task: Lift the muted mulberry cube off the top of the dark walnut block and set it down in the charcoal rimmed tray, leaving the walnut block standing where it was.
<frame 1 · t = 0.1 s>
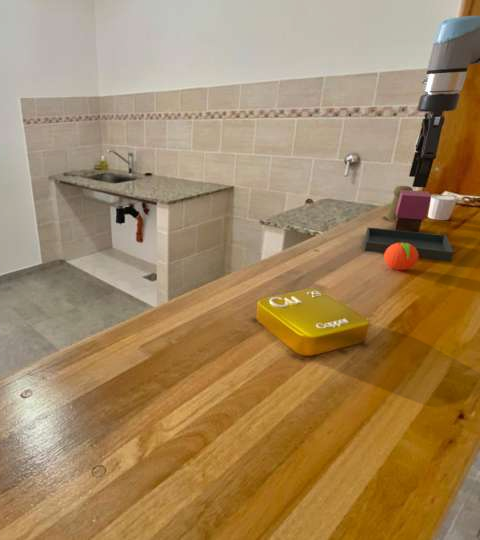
hand: (416, 181, 101), 19 cm above the table, tool pointing down, fingers open, 13 cm apart
walnut block: (405, 230, 121), on the table, touching mulberry cube
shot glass: (438, 218, 130), on the table
tray: (404, 247, 109), on the table
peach: (397, 270, 96), on the table
element tile: (307, 329, 75), on the table
mulberry cube: (409, 215, 119), point 5 cm above the table, touching walnut block
cork: (396, 218, 132), on the table
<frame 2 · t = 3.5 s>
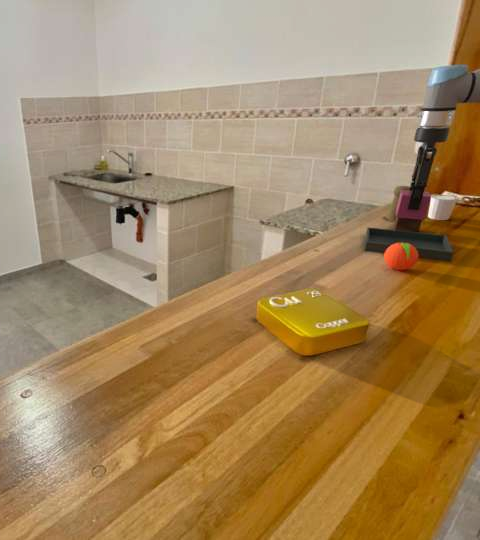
hand: (412, 205, 117), 8 cm above the table, tool pointing down, fingers closed on mulberry cube, 7 cm apart
mulberry cube: (409, 215, 119), point 5 cm above the table, touching gripper, walnut block
everything else where it was.
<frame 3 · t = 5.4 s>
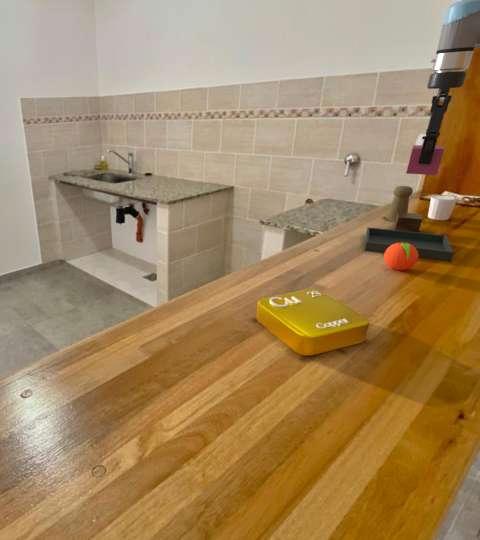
hand: (424, 161, 109), 22 cm above the table, tool pointing down, fingers closed on mulberry cube, 7 cm apart
walnut block: (405, 230, 121), on the table
mulberry cube: (421, 172, 110), point 19 cm above the table, touching gripper
everything else where it was.
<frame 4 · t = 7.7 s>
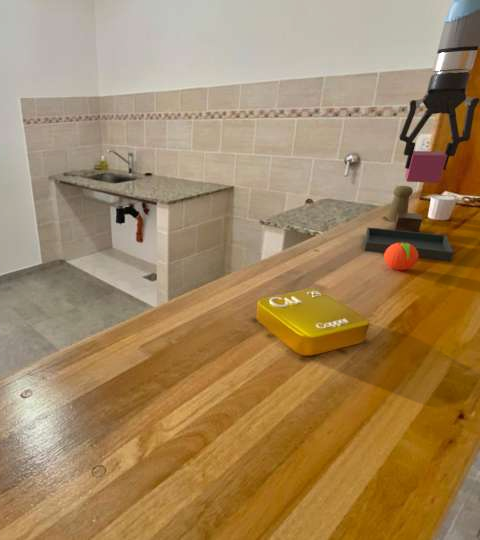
hand: (424, 168, 102), 22 cm above the table, tool pointing down, fingers closed on mulberry cube, 7 cm apart
mulberry cube: (421, 179, 103), point 19 cm above the table, touching gripper
everything else where it was.
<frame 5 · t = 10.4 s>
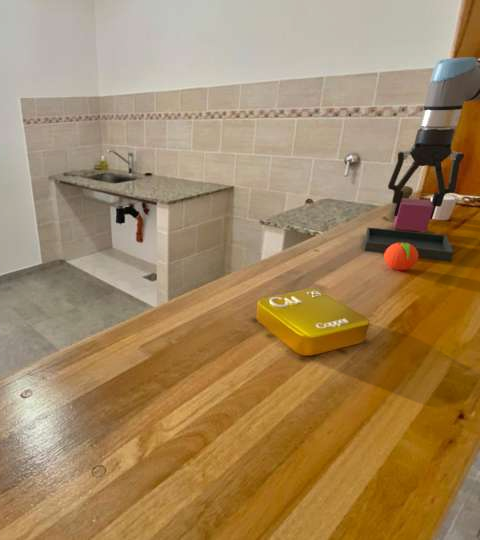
hand: (412, 216, 105), 9 cm above the table, tool pointing down, fingers closed on mulberry cube, 7 cm apart
mulberry cube: (409, 226, 106), point 6 cm above the table, touching gripper
everything else where it was.
when the fingers open (4 cm above the table, at t = 12.2 s): mulberry cube stays where it is, resting on tray.
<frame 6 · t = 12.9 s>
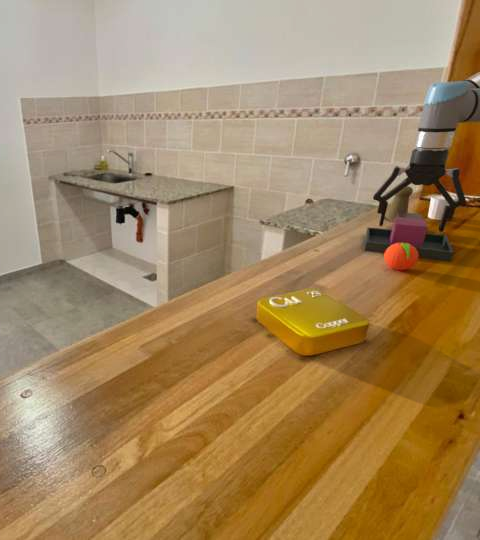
hand: (409, 227, 106), 6 cm above the table, tool pointing down, fingers open, 13 cm apart
mulberry cube: (404, 245, 109), point 1 cm above the table, touching tray
everything else where it was.
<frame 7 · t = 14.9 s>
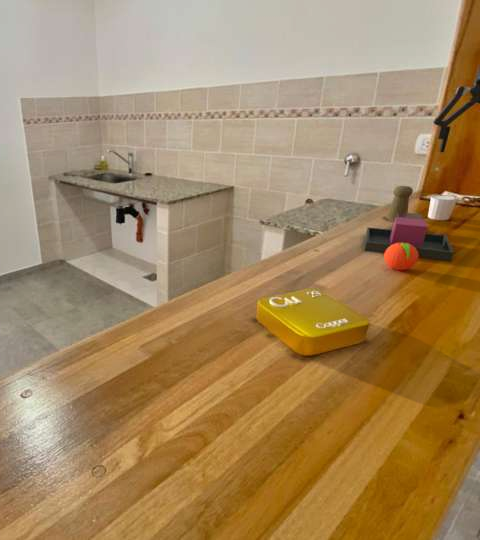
hand: (473, 151, 103), 25 cm above the table, tool pointing down, fingers open, 13 cm apart
nothing on the table moved.
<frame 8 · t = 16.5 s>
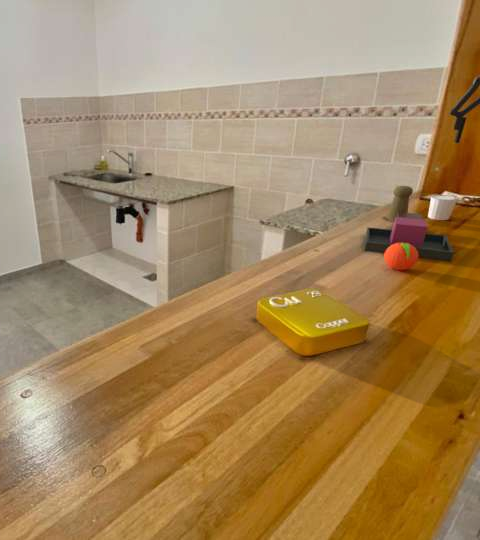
nothing on the table moved.
at the end: mulberry cube inside the target area in the tray (0.1 cm from its centre), point 0.6 cm above the tray's base; the gripper is holding nothing; walnut block moved 0.0 cm from its start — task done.
